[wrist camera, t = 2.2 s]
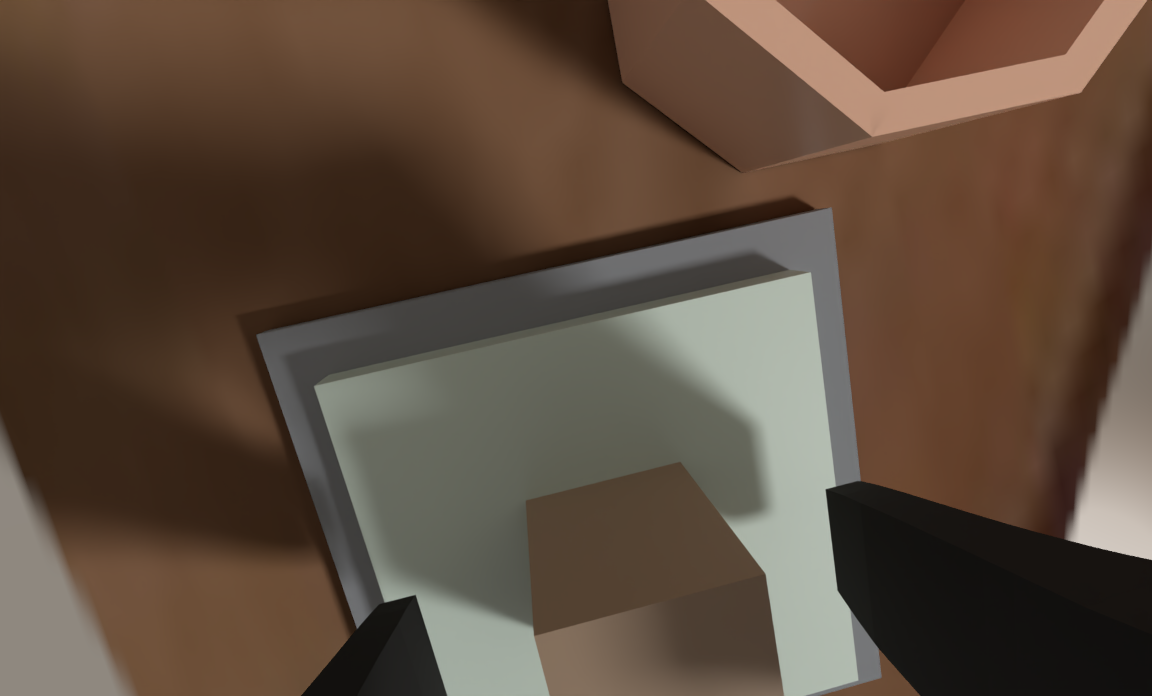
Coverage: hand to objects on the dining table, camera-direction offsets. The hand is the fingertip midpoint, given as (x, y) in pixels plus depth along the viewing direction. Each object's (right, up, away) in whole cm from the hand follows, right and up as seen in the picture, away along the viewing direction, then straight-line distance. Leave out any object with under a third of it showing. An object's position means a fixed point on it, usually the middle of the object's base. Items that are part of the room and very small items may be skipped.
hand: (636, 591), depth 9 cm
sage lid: (0, 0, +2) cm, 2 cm away
